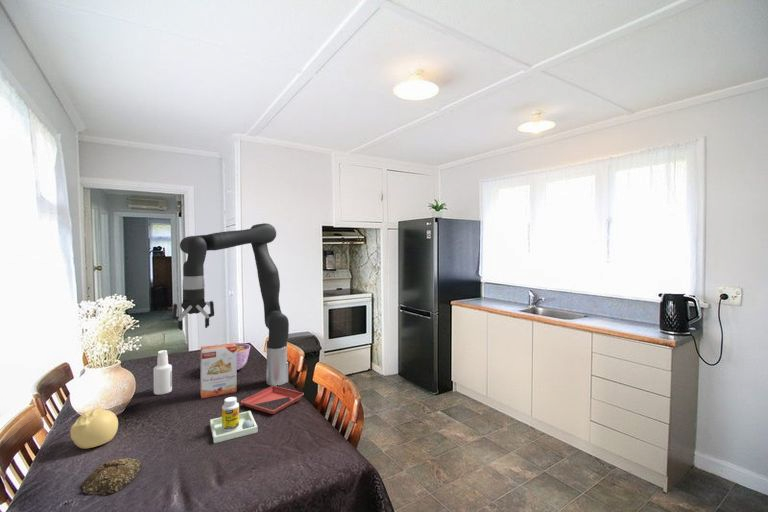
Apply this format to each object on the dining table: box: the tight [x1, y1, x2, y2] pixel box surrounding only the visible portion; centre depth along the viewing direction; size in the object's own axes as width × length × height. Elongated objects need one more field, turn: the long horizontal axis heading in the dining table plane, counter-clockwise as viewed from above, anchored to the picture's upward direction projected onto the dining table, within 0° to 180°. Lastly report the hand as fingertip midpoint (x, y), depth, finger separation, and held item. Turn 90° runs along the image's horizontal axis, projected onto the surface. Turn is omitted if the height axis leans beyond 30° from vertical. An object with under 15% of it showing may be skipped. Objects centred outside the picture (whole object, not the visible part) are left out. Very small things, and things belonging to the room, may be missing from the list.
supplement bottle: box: [221, 396, 240, 431], centre depth 123 cm, size 6×6×10 cm
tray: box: [209, 410, 259, 444], centre depth 123 cm, size 14×14×2 cm
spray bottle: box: [153, 349, 173, 396], centre depth 154 cm, size 7×7×18 cm
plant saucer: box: [240, 385, 304, 415], centre depth 144 cm, size 18×18×3 cm
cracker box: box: [200, 342, 238, 399], centre depth 153 cm, size 14×6×21 cm, turn 122°
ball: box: [242, 420, 253, 429], centre depth 122 cm, size 4×4×4 cm
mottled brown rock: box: [81, 457, 143, 496], centre depth 97 cm, size 13×12×5 cm
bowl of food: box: [221, 342, 251, 371], centre depth 181 cm, size 20×20×12 cm
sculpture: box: [69, 407, 119, 450], centre depth 114 cm, size 12×12×11 cm
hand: (193, 328), depth 137 cm, fingers open, 8 cm apart
